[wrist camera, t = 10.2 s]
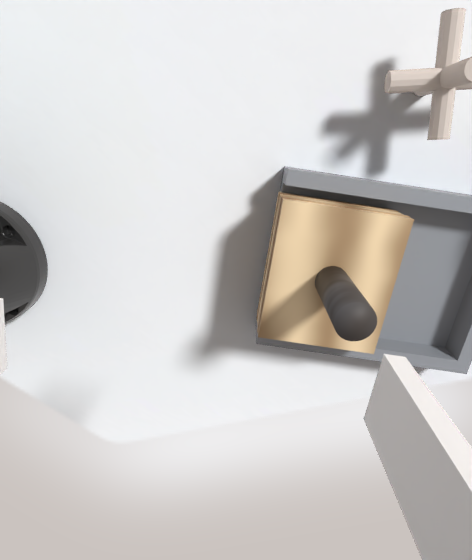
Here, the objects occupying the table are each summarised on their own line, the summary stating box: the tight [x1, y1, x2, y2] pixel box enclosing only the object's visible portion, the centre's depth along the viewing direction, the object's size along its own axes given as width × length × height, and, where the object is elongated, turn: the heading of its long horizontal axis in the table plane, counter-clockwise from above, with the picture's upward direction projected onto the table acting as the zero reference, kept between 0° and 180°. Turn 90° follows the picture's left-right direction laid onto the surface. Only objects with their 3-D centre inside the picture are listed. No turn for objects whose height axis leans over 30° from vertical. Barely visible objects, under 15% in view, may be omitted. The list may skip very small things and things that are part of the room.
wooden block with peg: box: [257, 192, 414, 354], centre depth 36 cm, size 12×14×15 cm
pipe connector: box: [384, 8, 472, 140], centre depth 34 cm, size 10×10×10 cm
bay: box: [256, 167, 472, 374], centre depth 43 cm, size 24×19×4 cm
